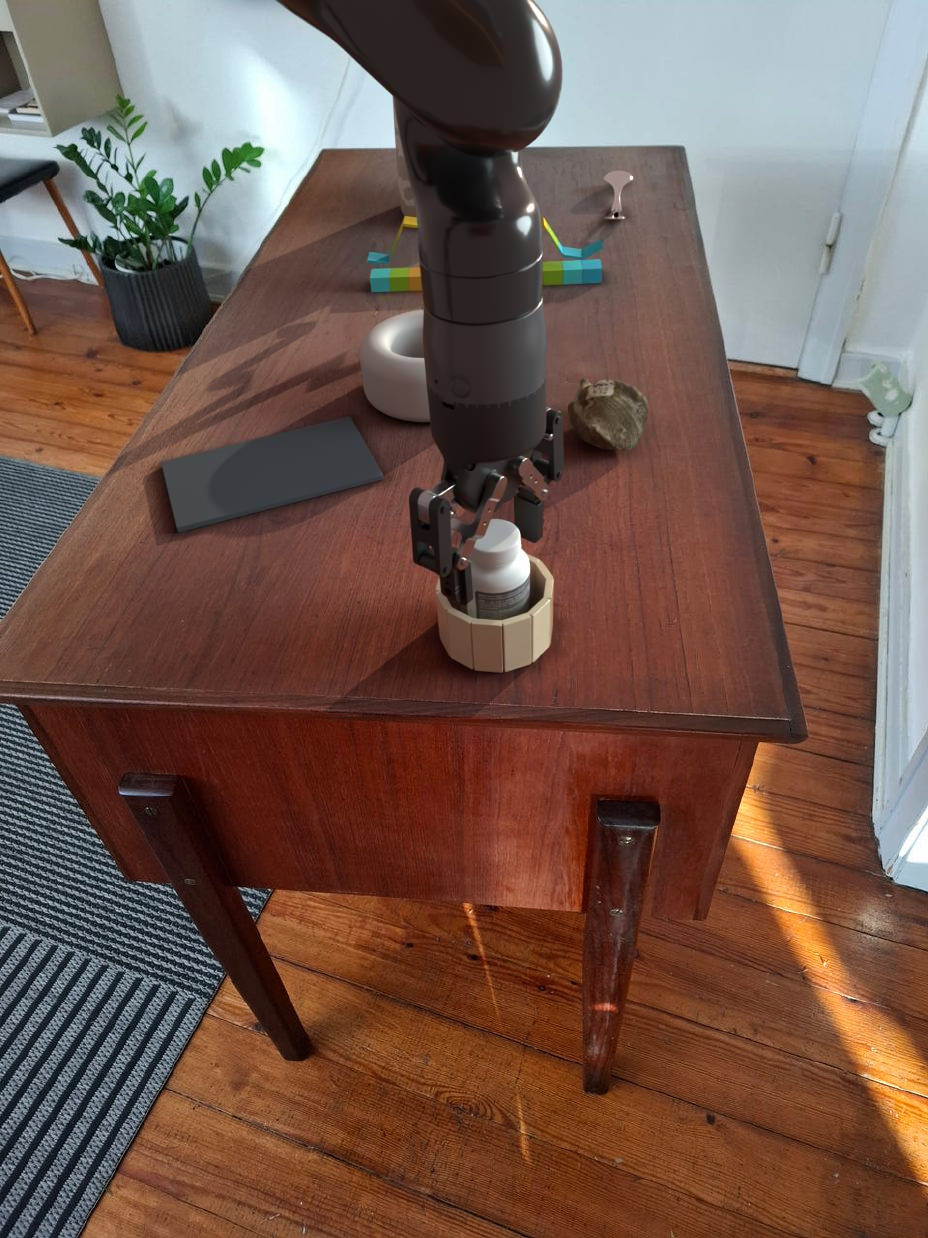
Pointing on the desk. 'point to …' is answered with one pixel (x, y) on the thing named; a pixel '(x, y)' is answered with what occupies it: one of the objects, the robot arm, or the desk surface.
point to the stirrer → (617, 191)
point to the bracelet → (500, 629)
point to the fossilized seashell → (609, 414)
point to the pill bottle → (499, 574)
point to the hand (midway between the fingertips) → (494, 567)
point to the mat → (267, 473)
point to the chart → (552, 271)
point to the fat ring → (396, 367)
